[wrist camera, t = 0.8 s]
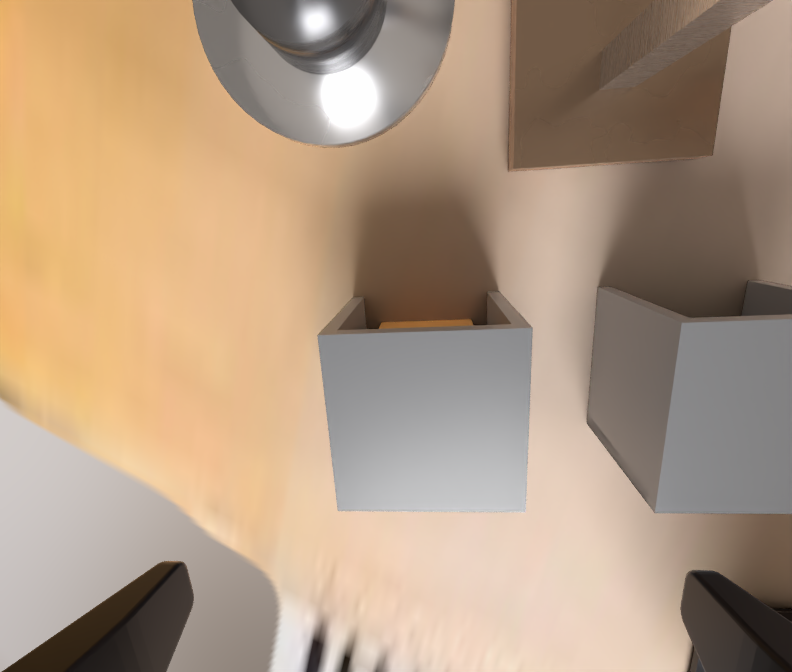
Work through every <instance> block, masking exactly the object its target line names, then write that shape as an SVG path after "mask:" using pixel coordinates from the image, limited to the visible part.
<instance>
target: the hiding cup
mask: <svg viewBox="0 0 792 672" xmlns="http://www.w3.org/2000/svg"><path fill="white" fill-rule="evenodd" d="M532 329H533V328H532V327H531V326H530V325H529V324H528V322H527V321H526V320H525V319H524V318H523V317H522V316H521V315H520V314H519V313H518V312H517V310H516V309H515V308H514V307H513V306H512V305H511V304H510V303H509V302H508V301H507V300H506V298H505V297H504V296H503V295H502V294H501V293H500V292H499V291H495V292H487V325H473V326H444V327H416V328H387V329H367V328H366V316H365V304H364V297H353V298H352V299H351V300H350V301H349V302H348V303H347V304H346V305H345V306H344V308H343V309H342V310H341V311H340V312H339V313H338V314H337V315H336V316H335V317H334V318H333V319H332V320H331V321H330V322H329V324H328V325H327V326H326V327H325V328H324V329H323V330H322V331H321V332H320V333H319V334H318V343H319V352H320V361H321V369H322V378H323V387H324V395H325V404H326V412H327V421H328V430H329V438H330V447H331V456H332V464H333V473H334V482H335V490H336V499H337V508H338V511H405V512H526V491H527V464H528V437H529V410H530V383H531V356H532Z"/></svg>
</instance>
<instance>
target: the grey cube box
mask: <svg viewBox="0 0 792 672" xmlns="http://www.w3.org/2000/svg"><path fill="white" fill-rule="evenodd" d="M587 424H588V426H589V427H590V428H591V430H592V431H593V432H594V434H595V435H596V436H597V437H598V439H599V440H600V441H601V443H602V444H603V445H604V447H605V448H606V449H607V451H608V452H609V453H610V455H611V456H612V457H613V459H614V460H615V461H616V463H617V464H618V465H619V466H620V468H621V469H622V470H623V472H624V473H625V474H626V476H627V477H628V478H629V480H630V481H631V482H632V484H633V485H634V486H635V488H636V489H637V490H638V492H639V493H640V494H641V496H642V497H643V498H644V499H645V501H646V502H647V503H648V505H649V506H650V507H651V509H652V510H653V511H654V513H721V514H792V286H788V285H783V284H778V283H773V282H768V281H762V280H754V281H748V282H747V288H746V293H745V299H744V304H743V310H742V315H741V316H729V317H700V318H689V317H686V316H684V315H681V314H679V313H676V312H674V311H671V310H669V309H666V308H663V307H661V306H658V305H656V304H653V303H651V302H648V301H646V300H643V299H640V298H638V297H635V296H633V295H630V294H628V293H625V292H623V291H620V290H618V289H615V288H612V287H598V291H597V303H596V316H595V328H594V340H593V353H592V365H591V377H590V390H589V402H588V415H587Z"/></svg>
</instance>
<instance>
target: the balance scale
mask: <svg viewBox="0 0 792 672" xmlns="http://www.w3.org/2000/svg"><path fill="white" fill-rule="evenodd" d="M771 1H773V0H511V48H510V104H509V159H508V172H512V171H526V170H541V169H556V168H570V167H585V166H599V165H614V164H628V163H643V162H658V161H672V160H687V159H697V158H702V157H707V156H711V155H713V149H714V142H715V135H716V128H717V121H718V115H719V108H720V101H721V94H722V87H723V80H724V74H725V67H726V60H727V53H728V46H729V40H730V33H731V26H733V25H734V24H736V23H738V22H739V21H741V20H742V19H744V18H746V17H747V16H749V15H750V14H752V13H753V12H755V11H757V10H758V9H760V8H761V7H763V6H765V5H766V4H768V3H769V2H771ZM454 2H455V0H193V8H194V15H195V20H196V24H197V29H198V33H199V36H200V39H201V42H202V45H203V48H204V51H205V53H206V55H207V58H208V60H209V62H210V64H211V66H212V69H213V70H214V72H215V74H216V75H217V77H218V79H219V80H220V82H221V84H222V85H223V87H224V88H225V89H226V90H227V92H228V93H229V94H230V96H231V97H232V98H233V100H234V101H235V102H236V103H237V104H238V105H239V106H240V107H241V108H242V109H243V110H244V111H245V112H246V113H248V114H249V115H250V116H251V117H252V118H254V119H255V120H256V121H257V122H259V123H260V124H262V125H264V126H265V127H267V128H268V129H270V130H272V131H273V132H275V133H277V134H279V135H281V136H283V137H285V138H288V139H290V140H292V141H294V142H298V143H301V144H305V145H308V146H315V147H322V148H340V147H347V146H353V145H357V144H360V143H363V142H367V141H369V140H372V139H374V138H376V137H378V136H380V135H382V134H384V133H385V132H387V131H388V130H390V129H392V128H393V127H395V126H396V125H397V124H398V123H400V122H401V121H402V120H403V119H404V118H405V117H407V116H408V115H409V114H410V113H411V111H412V110H413V109H414V108H415V107H416V106H417V105H418V104H419V103H420V101H421V100H422V98H423V97H424V96H425V94H426V93H427V91H428V90H429V88H430V87H431V85H432V83H433V81H434V79H435V77H436V75H437V73H438V71H439V69H440V66H441V64H442V61H443V59H444V56H445V53H446V49H447V46H448V42H449V38H450V33H451V27H452V20H453V13H454Z"/></svg>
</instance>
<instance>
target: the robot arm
mask: <svg viewBox="0 0 792 672" xmlns="http://www.w3.org/2000/svg"><path fill="white" fill-rule="evenodd" d="M193 601H194V594H193V589H192V585H191V582H190V577H189V573H188V570H187V566H186V565H185V563H184V562H181V561H164V562H161V563H159V564H157V565H156V566H154V567H153V568H151V569H150V570H148V571H147V572H145V573H144V574H143V575H141V576H140V577H138V578H137V579H135V580H134V581H132V582H131V583H130V584H128V585H127V586H125V587H124V588H122V589H121V590H120V591H118V592H117V593H115V594H114V595H112V596H111V597H109V598H108V599H106V600H105V601H103V602H102V603H101V604H99V605H98V606H96V607H95V608H93V609H92V610H90V611H89V612H88V613H86V614H85V615H83V616H82V617H80V618H79V619H77V620H76V621H74V622H73V623H72V624H70V625H69V626H67V627H66V628H64V629H63V630H61V631H60V632H59V633H57V634H56V635H54V636H53V637H51V638H50V639H48V640H47V641H45V642H44V643H43V644H41V645H40V646H38V647H37V648H35V649H34V650H32V651H31V652H30V653H28V654H27V655H25V656H24V657H22V658H21V659H19V660H18V661H17V662H15V663H14V664H12V665H11V666H9V667H8V668H7V669H5V670H4V671H2V672H166V671H167V669H168V666H169V664H170V661H171V659H172V656H173V654H174V652H175V649H176V646H177V644H178V642H179V639H180V637H181V634H182V632H183V629H184V627H185V624H186V622H187V619H188V617H189V615H190V612H191V609H192V606H193ZM681 615H682V619H683V622H684V625H685V627H686V629H687V632H688V634H689V636H690V638H691V641H692V643H693V645H694V647H695V648H694V653H693V658H692V663H691V668H690V672H792V609H780V608H770V607H769V606H767V605H766V604H764V603H763V602H761V601H760V600H758V599H757V598H755V597H754V596H752V595H751V594H749V593H748V592H746V591H745V590H744V589H742V588H741V587H739V586H738V585H736V584H735V583H733V582H732V581H730V580H729V579H727V578H726V577H724V576H723V575H721V574H720V573H718V572H715V571H703V570H692V571H689V572H688V573H687V574H686V578H685V584H684V590H683V595H682V601H681Z"/></svg>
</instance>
